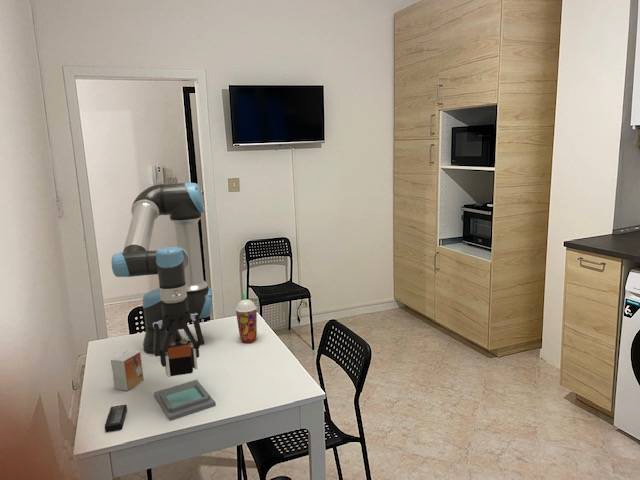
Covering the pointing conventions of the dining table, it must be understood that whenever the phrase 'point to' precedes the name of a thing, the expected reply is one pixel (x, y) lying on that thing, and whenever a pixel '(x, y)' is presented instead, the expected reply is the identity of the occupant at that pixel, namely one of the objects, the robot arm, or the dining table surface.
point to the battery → (180, 358)
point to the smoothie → (247, 320)
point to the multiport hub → (116, 418)
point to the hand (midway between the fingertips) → (181, 371)
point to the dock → (183, 399)
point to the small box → (127, 370)
